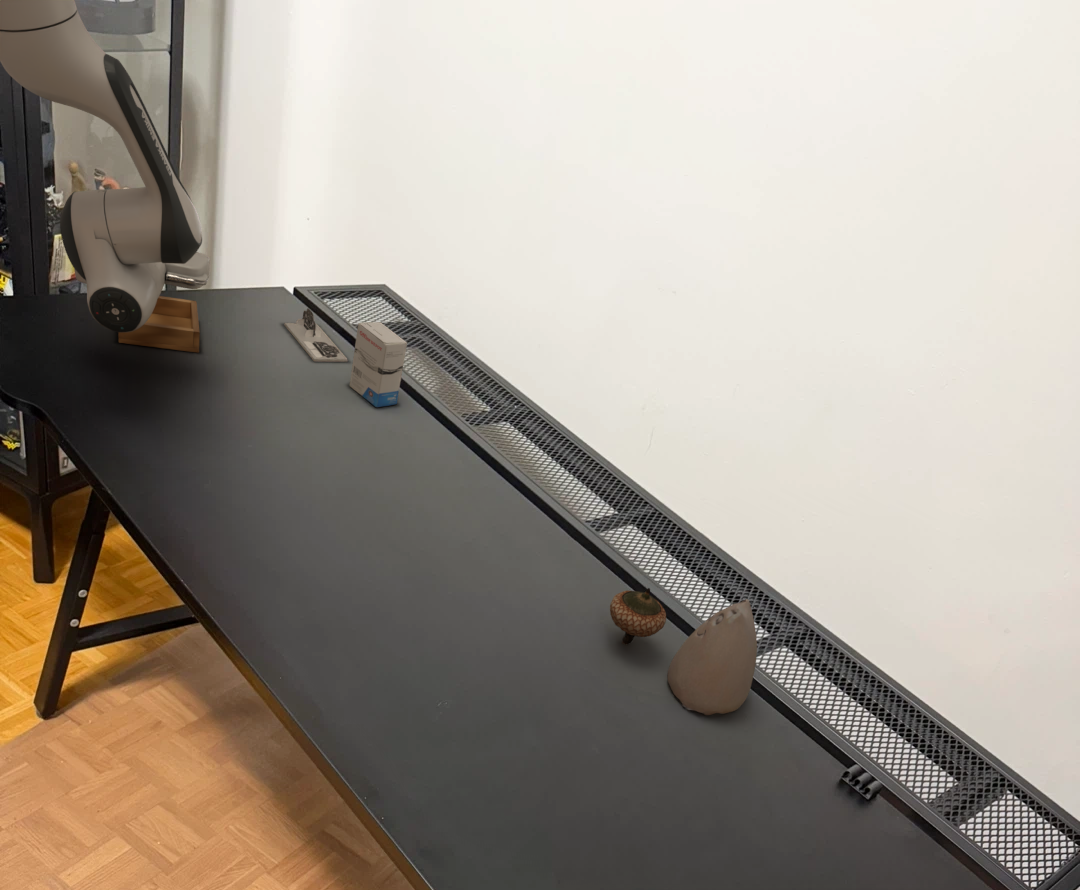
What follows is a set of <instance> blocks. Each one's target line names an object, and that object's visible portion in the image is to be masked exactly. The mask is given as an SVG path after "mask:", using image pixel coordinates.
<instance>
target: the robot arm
mask: <svg viewBox="0 0 1080 890" xmlns="http://www.w3.org/2000/svg"><path fill="white" fill-rule="evenodd" d="M77 7H78V6H77V4H76V1H75V0H0V64H1V66H2V67H3V69H4V70H5V72H6V73H7V74H8V75H9V76H10V77H11V78H12V79H13V80H14V81H15V82H16V83H17V84H18V85H20V86H21V87H23V88H24V89H26V90H27V91H29V92H31V93H32V94H34V95H35V96H38V97H40V98H42V99H45V100H46V101H50V102H53V103H56V104H60V105H63V106H67V107H71V108H74V109H77V110H80V111H82V112H85V113H87V114H89V115H92V116H94V117H96V118H98V119H100V120H102V121H104V122H105V123H107V124H108V125H109V126H111V127H112V128H113V129H114V130H115V131H116V132H117V134H118V135H119V136H120V138H121V139H122V142H123V144H124V146H125V148H126V150H127V152H128V154H129V156H130V158H131V160H132V162H133V164H134V166H135V168H136V170H137V173H138V174H139V176H140V178H141V180H142V182H143V184H144V186H142V187H130V188H128V187H127V188H116V189H115V188H114V189H113V188H112V189H108V188H105V189H90V190H80V191H73V192H72V193H71V194H70V195H69V196H68V198H67V199H66V200H65V203H64V205H63V208H62V211H61V214H60V217H59V218H60V220H59V229H60V231H59V232H60V236H61V237H60V238H61V241H62V245H63V247H64V251H65V253H66V255H67V258H68V260H69V262H70V264H71V266H72V268H73V270H74V277H75V280H77V281H78V282H80V283H83V284H85V285H86V303H87V307H88V310H89V313H90V315H91V317H92V318H93V319H94V321H96V323H98V324H99V325H100V326H102V327H103V328H105V329H107V330H109V331H112V332H115V333H118V332H121V333H127V332H132V331H135V330H137V329H138V328H140V327H141V326H143V325H144V324H145V323H146V322H147V320H148V319H149V318H150V316H151V314H152V312H153V310H154V308H155V305H156V302H157V299H158V298H159V296H161V294H162V291H163V289H164V287H165V285H169V286H173V287H178V288H182V289H188V290H198V289H200V288H202V287H204V286H206V285H207V283H208V281H209V278H210V269H211V258H210V257H209V255H207V254H205V253H203V252H200V251H199V252H198V250H199V249H200V248H201V246H202V244H203V231H202V230H203V229H202V223H201V220H200V216H199V213H198V211H197V208H196V207H195V205H194V203H193V201H192V199H191V197H190V195H189V193H188V191H187V190H186V188H185V186H184V185H183V183H182V181H181V179H180V178H179V176H178V174H177V172H176V170H175V168H174V165H173V164H172V161H171V159H170V157H169V155H168V153H167V149H166V148H165V146H164V144H163V141H162V140H161V138H160V135H159V133H158V131H157V128H156V126H155V125H154V123H153V120H152V118H151V116H150V114H149V112H148V110H147V108H146V105H145V103H144V101H143V99H142V97H141V96H140V93H139V91H138V89H137V87H136V85H135V84H134V82H133V80H132V78H131V76H130V75H129V73H128V71H127V70H126V68H125V67H124V65H123V64H122V62H121V61H120V59H118V58H116V57H114V56H112V55H110V54H108V53H106V52H105V51H104V50H103V49H102V48H101V46H100V45H99V44H98V43H97V42H96V41H95V39H94V38H93V37H92V35H91V34H90V32H89V31H88V30H87V27H86V26H85V24H84V22H83V20H82V18H81V15H80V12H79V10H78V8H77Z"/></svg>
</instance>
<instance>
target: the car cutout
mask: <svg viewBox="0 0 1080 890" xmlns="http://www.w3.org/2000/svg"><path fill="white" fill-rule="evenodd" d="M314 316H315V315H314V312H313V311H312V310H311V309H310V308H306V310H303V313H302V318H298V319H296V322H284V324H283V325H284V327H285V328H286V329H287V330H288V332H289V333H290V334H291V335H292V336H293V338H294V339H295V340H296V342H298V344H299V345H300V347H301V348H303V350H304V351H305V353H306V354H307V355H308V356H309V357H310V359H311V360H312V361H313V362H314V363H315V362H317V363H318V362H319V363H320V362H321V363H325V362H327V363H329V362H330V363H331V362H332V363H334V362H335V363H336V362H338V363H339V362H340V363H341V362H342V363H347V362H348V361H349V360H348V358H347V356H346V355H344V353H343V352H342V350H341V349H339V348H338V346H337V345H336V344H335V343H334V342H333V340H332V339H331V338H330V336H329V335H327V334H326V332H325V331H324V330H323V329H322V327H321V326H320V325H319V324H318V323H316V321H315V318H314Z"/></svg>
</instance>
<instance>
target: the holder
mask: <svg viewBox="0 0 1080 890" xmlns="http://www.w3.org/2000/svg"><path fill="white" fill-rule="evenodd" d="M199 321H200V320H199V312H198V303H197V301H196V300H191V299H183V298H176V297H170V296H164V295H160V296H159V298H158V299H157V302H156V305H155V308H154V310H153V312H152V314H151V316H150V318H149V319H148V320H147V322H146V323H145V324H144V325H143V326H141V327H140V328H138V329H137V330H135V331H132V332H127V333H121V332H117V333H118V335H117V336H118V343H119V344H127V345H134V346H142V347H151V348H159V349H167V350H175V351H183V352H189V353H197V354H199V353H200V333H201V332H200V331H201V330H200V323H199Z"/></svg>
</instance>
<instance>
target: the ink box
mask: <svg viewBox="0 0 1080 890" xmlns="http://www.w3.org/2000/svg"><path fill="white" fill-rule="evenodd" d="M407 346H408V342H407V341H406V340H404V339H403V338H401V337H400V336H399V335H398V334H397V333H395V332H394V331H392V330H391V329H390V328H389V327H387V326H386V325H385V324H383V323H382V321H373V322H371V321H370V322H367V321H366V322H360V323H358V324H357V330H356V337H355V344H354V352H353V360H352V365H351V373H350V378H349V379H350V380H349V385H348V386H349V387H350V388H351V389H353V390H354V391H355V392H356V393H357V394H359V395H360V396H361V397H362V398H364V399H365V400H366V401H368V403H370V404H371V405H372V406H374V407H375V408H381V407H388V406H395V405H397V404H398V399H399V393H400V386H401V381H402V375H403V369H404V363H405V359H406V358H405V357H406V351H407Z"/></svg>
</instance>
